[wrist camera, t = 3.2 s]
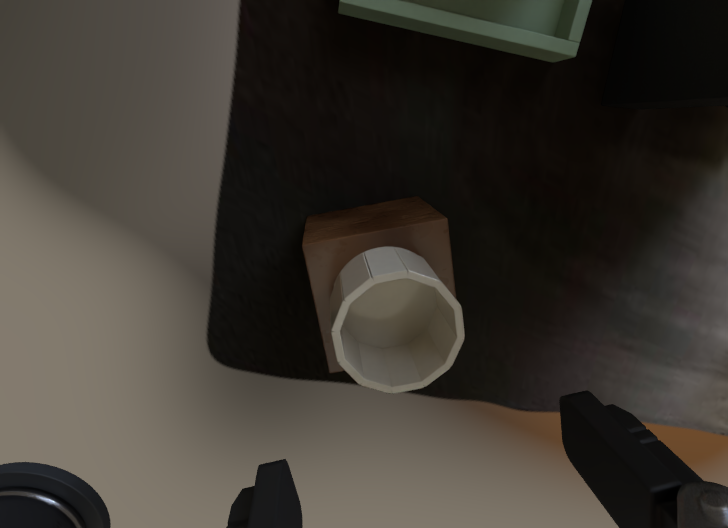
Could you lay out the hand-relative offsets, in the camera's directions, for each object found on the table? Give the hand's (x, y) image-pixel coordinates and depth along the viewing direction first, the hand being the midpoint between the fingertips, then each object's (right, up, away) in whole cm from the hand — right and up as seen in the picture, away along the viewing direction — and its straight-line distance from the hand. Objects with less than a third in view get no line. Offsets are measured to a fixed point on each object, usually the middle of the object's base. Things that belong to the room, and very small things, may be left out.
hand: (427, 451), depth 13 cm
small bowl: (-1, +3, +12) cm, 13 cm away
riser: (-1, +6, +20) cm, 21 cm away
